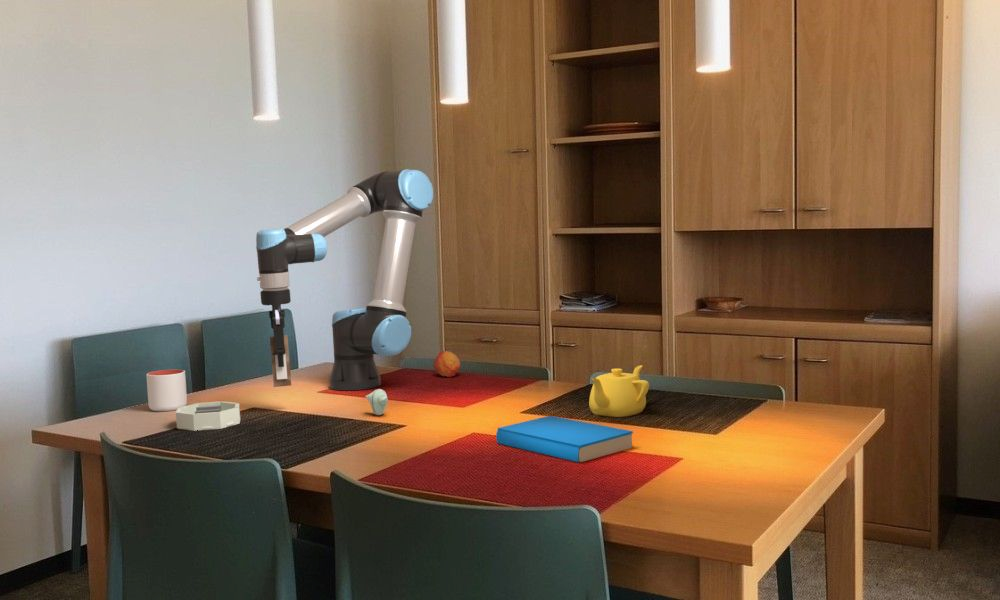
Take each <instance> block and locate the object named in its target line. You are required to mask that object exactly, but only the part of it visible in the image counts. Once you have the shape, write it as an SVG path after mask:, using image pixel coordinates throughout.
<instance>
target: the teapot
mask: <svg viewBox="0 0 1000 600" xmlns="http://www.w3.org/2000/svg"><path fill="white" fill-rule="evenodd" d="M642 368H643V365H637V366H636V367H635V368H634V369H633V371H632V373H630V372H628V373H627V372H623V371H624V370H623V368H611V372H608V373H604V374H600V375H597V376H596V377H595V378H594V377H593V378H592V377H591V378H590V379H591V380H592V382H593V384H592V388H591V390H590V394H589V399H588V400H589V401H588V404H589V405H588V406H589V409H590V412H591V413H592V414H593V415H595V416H603V417H611V418H626V417H630V416H634V415H638V414H640V413H642V412H643V411H644V409H645V408H646V404H647V399H646V398H647V397H646V396H647V393H648V391H649V390H650V389H649V388H650V383H649V381H647V380H645V379H641V378H640V377H641V374H640V372H641V370H642Z"/></svg>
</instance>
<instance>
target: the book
mask: <svg viewBox="0 0 1000 600" xmlns="http://www.w3.org/2000/svg"><path fill="white" fill-rule="evenodd" d="M633 434H634V431H633V430H628V429H623V428H618V427H613V426H612V427H611V426H608V425H601V424H596V423H592V422H586V421H581V420H576V419H571V418H570V419H569V418H565V417H561V416H560V417H559V416H553V415H547V416H543V417H539V418H534V419H530V420H526V421H523V422H517V423H514V424H508V425H504V426H499V427H497V431H496V435H495V438H496V439H495V441H496V442H497V444H499V445H504V446H508V447H513V448H516V449H520V450H525V451H529V452H533V453H537V454H540V455H541V454H542V455H545V456H549V457H550V456H551V457H554V458H559V459H562V460H567V461H570V462H571V461H572V462H575V463H583V462H586V461H590V460H593V459H594V460H595V459H597V458H601V457H604V456H607V455H611V454H614V453H619V452H621V451H626V450H629V449H633Z"/></svg>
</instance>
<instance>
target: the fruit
mask: <svg viewBox="0 0 1000 600" xmlns="http://www.w3.org/2000/svg"><path fill="white" fill-rule="evenodd" d="M433 369H434V371H435V372H436V373H438V375H440V376H442V377H445V376H446V378H453V377H455V376H456V375H457V373H458V372H459V371H460V370H461V361H460V359H459V357H458V356H457V355H456V354H455V353H453V352H451V351H449V350H444V351H441V352H439V353H438V354H437V356H436V357H435V359H434V362H433ZM452 376H453V377H452Z"/></svg>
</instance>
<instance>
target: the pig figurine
mask: <svg viewBox="0 0 1000 600" xmlns="http://www.w3.org/2000/svg"><path fill="white" fill-rule="evenodd" d="M365 398H366V399H367V400H368V402H369V404H370V408H371V410H372V412H373V413H374V414H375V415H376V416H381V415H383V413H384V412H385V410H386V408H387V405H388V402H389V400H388V395H387V393H386V391H385V390H384V389H381V388H378V389H375V390H373V391H372V392H371V393H369V394H367V395H365Z"/></svg>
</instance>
